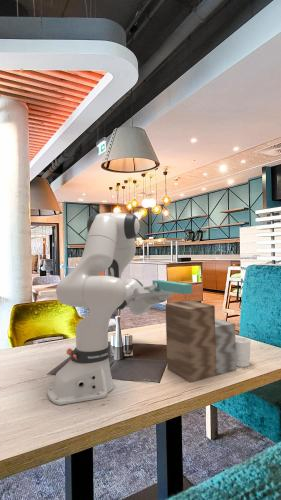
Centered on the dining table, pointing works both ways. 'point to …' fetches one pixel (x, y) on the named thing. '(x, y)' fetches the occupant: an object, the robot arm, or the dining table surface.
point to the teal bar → (174, 286)
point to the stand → (198, 341)
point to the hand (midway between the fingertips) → (162, 284)
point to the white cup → (242, 351)
